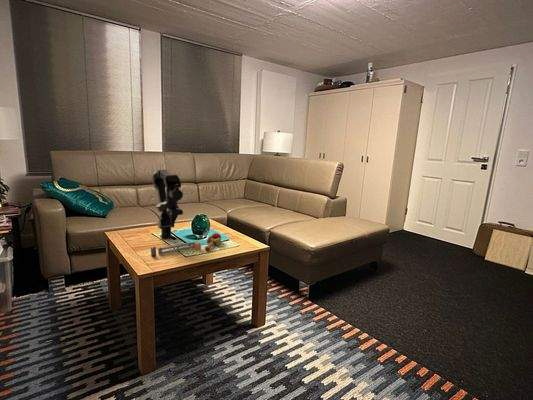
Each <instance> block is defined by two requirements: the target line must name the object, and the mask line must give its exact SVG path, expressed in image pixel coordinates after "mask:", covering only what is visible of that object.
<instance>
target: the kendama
mask: <svg viewBox="0 0 533 400" xmlns="http://www.w3.org/2000/svg"><path fill="white" fill-rule="evenodd" d="M221 239H222V236H221V234H220V233H217V232H215V233H212V234H211V236H210V235H209V236H208V237H207V239H206V243H207V245H206V246H205V248H204V251H205V252H207V253H210V251H211V249H212V247H213V245H214V244H215V246H216V247H218V246H220V245H221V241H222V240H221Z"/></svg>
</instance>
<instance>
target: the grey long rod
mask: <svg viewBox="0 0 533 400" xmlns="http://www.w3.org/2000/svg"><path fill="white" fill-rule="evenodd" d="M194 242H195V241H191V242H186V243H184V242H183V243H178V244H173V245H168V246H167V245H166V246H162V247H157V251H158V256H159V255H165V254H170V253H175V252H181V251H187V250H192V249H193V250H194Z"/></svg>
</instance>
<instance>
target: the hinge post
mask: <svg viewBox="0 0 533 400" xmlns="http://www.w3.org/2000/svg"><path fill="white" fill-rule="evenodd" d="M150 256H151V257H152V258H155V257H157V247H156V246H151V247H150Z"/></svg>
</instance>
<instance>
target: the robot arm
mask: <svg viewBox="0 0 533 400" xmlns="http://www.w3.org/2000/svg"><path fill="white" fill-rule="evenodd" d="M151 183H152V185H153V188H154V189H155V190H156V191H157V196H158V200H159V202H158V204H156V205H155V207H156V209H157V211H158V212H159V213H160V215H159V219H158V222H157V227H158V229H159V230H160V231H161V233H160V235H159V237H160V238H161V239H162V240H163V239H164V240H165V239H171V238H174V236H173V234H172V228H175V224H176V221H177V219H178V217H179V216H180V215H181V216H182V215H183V214H184V210H182V209H181V208H180V206H179V205H178V203H179V201H180V200H182V198H183V196H184V194H183V191H182V190H181V189H180V188H182V182H181V180H180V177H179V176H178V174H171V173H170V172H168V171H167V170H166V169H159V170H157V171H156V173H154V174H153V175H152V178H151Z"/></svg>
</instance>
